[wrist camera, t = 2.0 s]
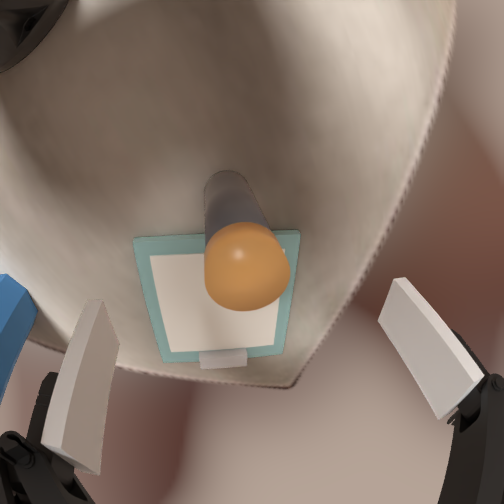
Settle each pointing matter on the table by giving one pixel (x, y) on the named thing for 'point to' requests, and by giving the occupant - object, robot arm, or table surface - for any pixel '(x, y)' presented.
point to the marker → (240, 247)
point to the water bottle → (13, 325)
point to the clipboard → (207, 305)
